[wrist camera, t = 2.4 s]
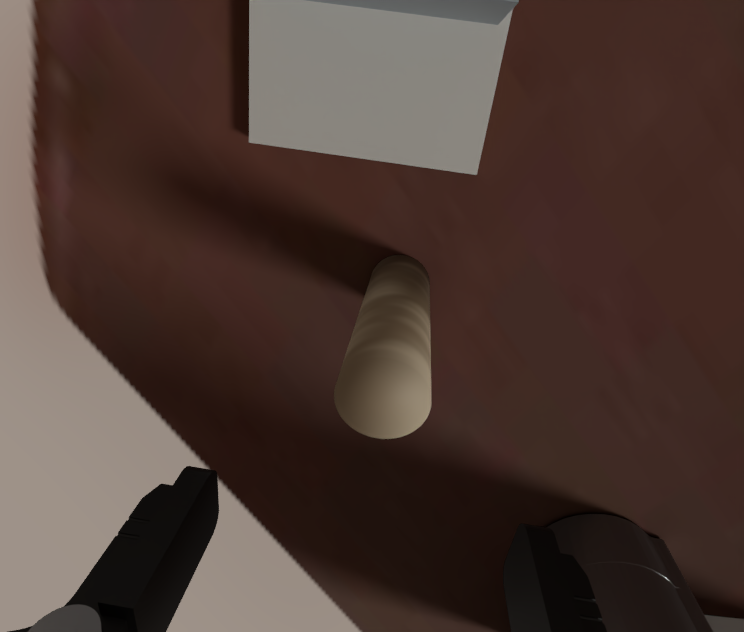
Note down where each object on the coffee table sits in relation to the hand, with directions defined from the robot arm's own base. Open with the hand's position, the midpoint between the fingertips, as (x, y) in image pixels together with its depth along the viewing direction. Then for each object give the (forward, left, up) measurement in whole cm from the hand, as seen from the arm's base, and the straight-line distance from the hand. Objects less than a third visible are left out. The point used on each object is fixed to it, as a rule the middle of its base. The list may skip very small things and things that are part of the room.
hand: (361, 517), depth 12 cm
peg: (0, 0, -17) cm, 17 cm away
